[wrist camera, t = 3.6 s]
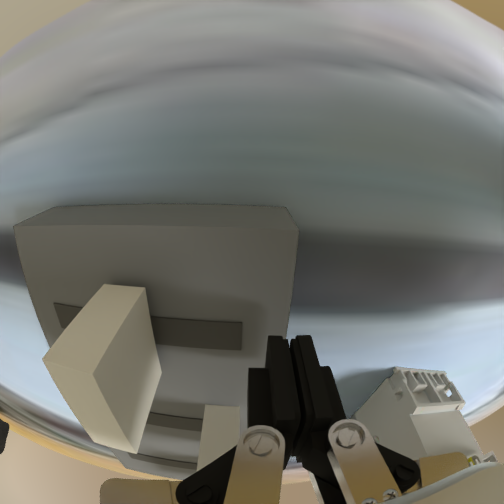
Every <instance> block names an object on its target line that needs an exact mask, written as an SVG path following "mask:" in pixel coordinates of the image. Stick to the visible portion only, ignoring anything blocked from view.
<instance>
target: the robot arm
mask: <svg viewBox="0 0 504 504" xmlns="http://www.w3.org/2000/svg"><path fill="white" fill-rule="evenodd" d="M290 456H296V459H297V463H298V462H302V466H303V468H305V469H306V470H308V471H309V476H310V479H311V482H312V485H313V488H314V491H315V494H316V496H317V499H318V502H319V504H504V464H503V463H500V462H485V463H480V464H477V465H473V466H471V467H469V463H468V459H467V457H466V456H465V455H464V454H463V453H461V452H452V453H447V454H442V455H436V456H429V457H422V458H418V459H417V460H412V459H411V458H408V457H406V456H404V455H402V454H399V453H397V452H395V451H393V450H391V449H388V448H386V447H384V446H382V445H380V444H378V443H376V442H374V440H373V438H372V436H371V434H370V432H369V431H368V429H367V428H366V426H365V425H364V424H362V423H361V422H359V421H356V420H353V419H346V416H345V413H344V410H343V406H342V403H341V400H340V396H339V393H338V390H337V387H336V384H335V380H334V377H333V374H332V371H331V369H330V367H329V366H320V365H319V361H318V358H317V354H316V351H315V347H314V344H313V341H312V337H311V336H310V335H297V336H296V339H291V342H290V348H289V343H288V339H283V336H275V335H268V340H267V350H266V360H265V368H248V387H247V429H246V430H244V432H243V433H242V434H241V435H240V437H239V439H238V443H237V445H236V446H234V447H233V448H232V449H230V450H229V451H227V452H226V453H225V454H223V455H222V456H220V457H219V458H217V459H216V460H214V461H213V462H211V463H210V464H208V465H207V466H205V467H204V468H202V469H200V470H199V471H197V472H196V473H194V474H192V475H191V476H189V477H187V478H186V479H184V480H183V481H169V480H138V479H121V478H112V479H108V480H106V481H105V482H104V483H103V484H102V485H101V488H100V504H279V500H280V490H281V482H282V473H283V470H284V469H285V468H286V466H287V463H288V461H289V458H290Z"/></svg>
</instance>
